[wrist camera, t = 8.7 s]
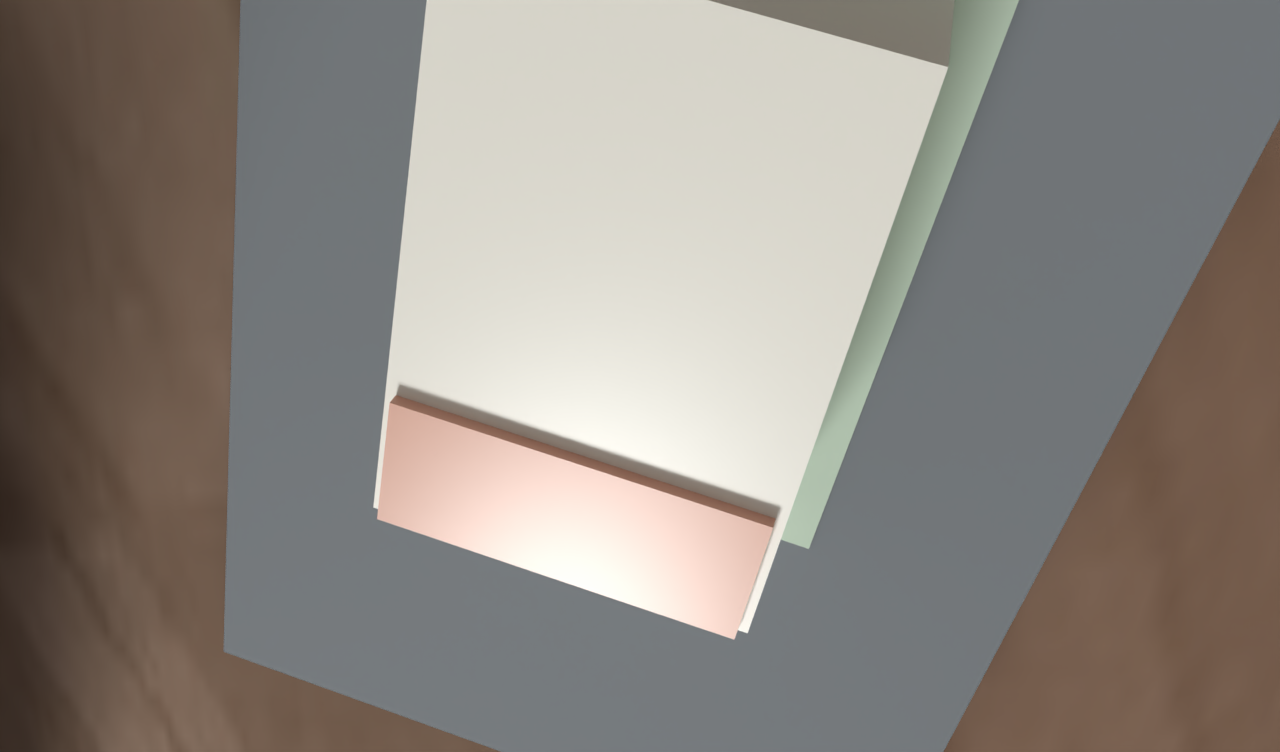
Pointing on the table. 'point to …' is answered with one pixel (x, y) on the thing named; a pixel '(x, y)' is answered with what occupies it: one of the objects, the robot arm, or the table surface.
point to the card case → (641, 277)
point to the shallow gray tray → (851, 429)
